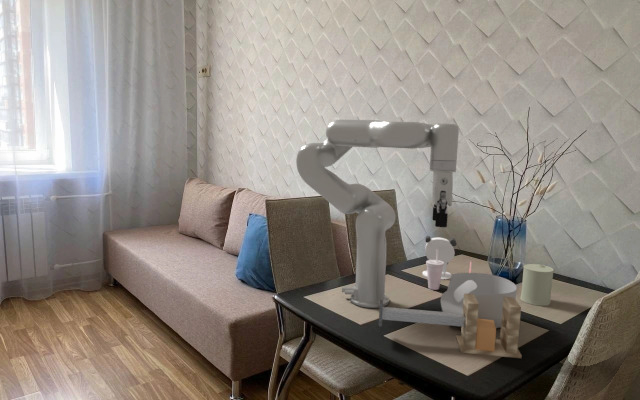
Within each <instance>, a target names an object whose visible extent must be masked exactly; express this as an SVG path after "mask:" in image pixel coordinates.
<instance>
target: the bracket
mask: <svg viewBox="0 0 640 400" xmlns="http://www.w3.org/2000/svg"><path fill="white" fill-rule="evenodd" d="M478 306H479V304H478V302H477V300H476V298H475V296H474V294H465V293H464V300H463V314H465V316H466V321H465V327H462V326H460V329H461V331H460V335H456V341H457V345H458V347H459V348H458V349H459V351H460V353H462V354H463V353H465V354H472V355H483V356H492V357H493V356H494V357H502V358H503V357H504V358H513V359H522V354H521V351H520V350H519V347H518V344H519V334H520V323H521V322H520V321H521V315H522V314H521V313H522V306H521V305H520V304H519V303H518V301H517V299H516V300H515V298H514V297H504V298H503V309H502V321H501V327H500V334H499V339H498V338H495V349H494V351H488V350H480V349H475V344H476V331H477V319H478Z"/></svg>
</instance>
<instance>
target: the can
mask: <svg viewBox="0 0 640 400" xmlns="http://www.w3.org/2000/svg"><path fill="white" fill-rule="evenodd" d="M522 271H523V273H522V281H521V282H522V283H521V294H520V301H522V302H524V303H525V304H529V305H532V306H539V307H546V306H549V305H551V303H552V302H551V298H552V297H551V296H552V286H553V277H554V271H555V269H554V268H553V267H550V266H547V265H544V264H538V263H526V264H524V265H523V270H522Z"/></svg>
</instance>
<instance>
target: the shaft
mask: <svg viewBox="0 0 640 400" xmlns="http://www.w3.org/2000/svg"><path fill="white" fill-rule="evenodd" d="M378 309H379V311H378V327H383V320H386V321H396V322H407V323H419V324H429V325H439V326H441V325H442V326H451V327H452V326H453V327H465V321H466V316H465V314H461V313H449V312H443V311H437V310H436V311H434V310H425V309H424V310H423V309H412V308H411V309H410V308H399V307H387V306H383V300H380V307H379V308H378Z"/></svg>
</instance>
